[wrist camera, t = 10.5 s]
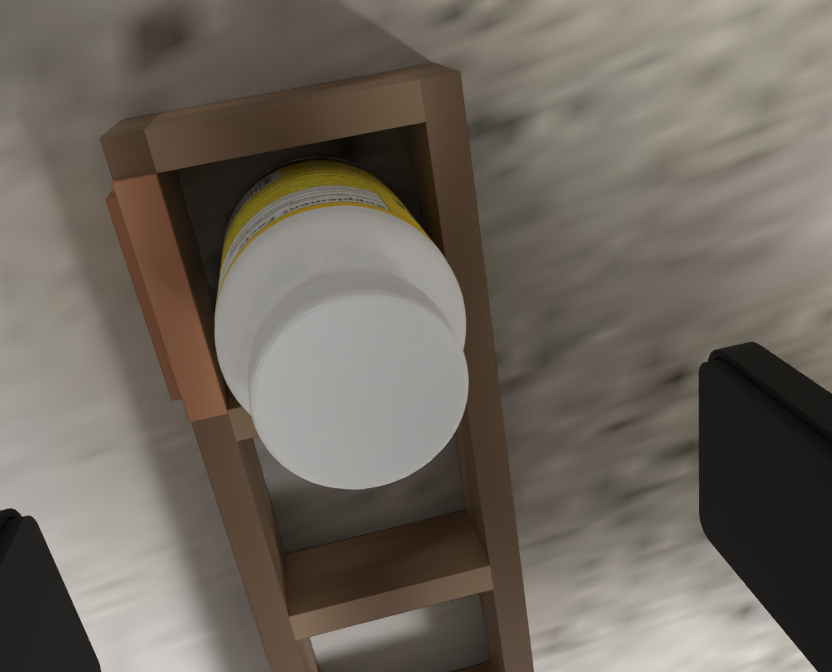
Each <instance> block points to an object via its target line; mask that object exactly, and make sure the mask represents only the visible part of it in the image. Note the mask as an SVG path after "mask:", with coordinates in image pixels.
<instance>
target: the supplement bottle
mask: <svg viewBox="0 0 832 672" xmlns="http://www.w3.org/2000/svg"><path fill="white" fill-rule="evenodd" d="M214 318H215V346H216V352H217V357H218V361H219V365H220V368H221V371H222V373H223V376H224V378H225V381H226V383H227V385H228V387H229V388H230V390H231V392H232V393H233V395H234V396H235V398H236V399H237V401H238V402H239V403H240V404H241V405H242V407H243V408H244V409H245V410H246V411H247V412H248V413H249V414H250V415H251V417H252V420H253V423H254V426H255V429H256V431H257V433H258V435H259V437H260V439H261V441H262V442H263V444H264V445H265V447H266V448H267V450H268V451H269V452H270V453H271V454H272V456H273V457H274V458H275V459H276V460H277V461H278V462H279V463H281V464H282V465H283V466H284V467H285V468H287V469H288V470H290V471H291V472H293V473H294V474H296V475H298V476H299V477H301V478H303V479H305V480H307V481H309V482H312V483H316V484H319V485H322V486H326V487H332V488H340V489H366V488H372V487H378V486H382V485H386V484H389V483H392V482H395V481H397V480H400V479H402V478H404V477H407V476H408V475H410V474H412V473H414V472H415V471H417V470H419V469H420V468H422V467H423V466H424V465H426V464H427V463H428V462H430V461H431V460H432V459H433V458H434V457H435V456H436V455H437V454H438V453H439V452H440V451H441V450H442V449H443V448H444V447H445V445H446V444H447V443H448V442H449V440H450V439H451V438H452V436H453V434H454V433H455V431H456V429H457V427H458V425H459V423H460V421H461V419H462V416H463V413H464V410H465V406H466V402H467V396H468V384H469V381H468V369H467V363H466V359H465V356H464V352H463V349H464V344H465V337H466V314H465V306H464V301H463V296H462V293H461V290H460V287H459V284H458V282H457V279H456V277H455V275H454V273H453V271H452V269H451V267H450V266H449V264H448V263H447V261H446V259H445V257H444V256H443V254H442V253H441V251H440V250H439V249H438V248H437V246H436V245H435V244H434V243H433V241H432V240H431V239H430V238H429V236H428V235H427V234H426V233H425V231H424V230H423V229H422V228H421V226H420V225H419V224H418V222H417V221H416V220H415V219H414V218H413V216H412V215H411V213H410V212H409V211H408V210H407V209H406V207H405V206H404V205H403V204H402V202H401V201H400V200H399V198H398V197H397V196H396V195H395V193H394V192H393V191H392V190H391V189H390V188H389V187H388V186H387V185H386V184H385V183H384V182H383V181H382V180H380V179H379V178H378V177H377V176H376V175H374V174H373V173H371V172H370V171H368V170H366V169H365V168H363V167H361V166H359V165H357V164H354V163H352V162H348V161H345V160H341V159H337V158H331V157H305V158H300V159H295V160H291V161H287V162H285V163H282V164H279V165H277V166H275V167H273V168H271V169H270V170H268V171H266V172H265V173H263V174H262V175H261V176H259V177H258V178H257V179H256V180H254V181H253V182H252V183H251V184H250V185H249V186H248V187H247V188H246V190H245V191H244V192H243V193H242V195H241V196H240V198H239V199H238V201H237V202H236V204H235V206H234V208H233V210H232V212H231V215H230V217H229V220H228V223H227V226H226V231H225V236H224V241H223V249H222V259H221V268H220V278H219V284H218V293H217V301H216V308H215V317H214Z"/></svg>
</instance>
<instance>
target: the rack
mask: <svg viewBox="0 0 832 672" xmlns="http://www.w3.org/2000/svg"><path fill="white" fill-rule="evenodd" d="M407 125H408V131H409V137H410V144H411V150H412V157H413V163H414V170H415V176H416V183H417V189H418V196H419V202H420V208H421V215H422V221H423V228H424V231H425V233H426V234H427V235H428V236H429V238H430V239H431V240H432V241H433V243H434V244H435V245H436V246H437V248H438V249H439V250H440V251H441V253H442V254H443V256H444V257H445V259H446V261H447V263H448V264H449V266H450V267H451V269H452V271H453V273H454V275H455V277H456V279H457V282H458V284H459V287H460V290H461V293H462V296H463V301H464V306H465V314H466V337H465V344H464V349H463V352H464V356H465V359H466V363H467V369H468V381H469V384H468V396H467V402H466V406H465V410H464V413H463V416H462V419H461V421H460V423H459V425H458V427H457V429H456V431H455V435H456V441H457V448H458V454H459V461H460V467H461V474H462V480H463V487H464V493H465V500H466V506H467V510H464V511H460V512H456V513H452V514H448V515H444V516H440V517H436V518H432V519H428V520H424V521H420V522H416V523H411V524H407V525H403V526H399V527H395V528H391V529H387V530H383V531H379V532H375V533H371V534H367V535H363V536H359V537H355V538H351V539H347V540H343V541H338V542H334V543H330V544H326V545H322V546H318V547H314V548H310V549H306V550H302V551H298V552H294V553H290V554H286V553H285V550H284V546H283V543H282V539H281V536H280V532H279V529H278V525H277V522H276V518H275V515H274V511H273V508H272V504H271V501H270V497H269V494H268V491H267V487H266V484H265V480H264V477H263V473H262V470H261V466H260V463H259V459H258V456H257V452H256V449H255V445H254V442H253V438H254V437H258V436H259V435H258V433H257V431H256V429H255V426H254V423H253V420H252V417H251V415H250V414H249V413H248V412H247V411H246V410H245V409H244V408H243V407H242V405H241V404H240V403H239V402H238V401H237V399H236V398H235V396H234V395H233V393H232V392H231V390H230V388H229V387H228V385H227V383H226V381H225V378H224V376H223V373H222V371H221V368H220V365H219V361H218V357H217V352H216V346H215V318H214V317H215V305H214V302H213V298H212V295H211V291H210V288H209V284H208V281H207V277H206V274H205V270H204V267H203V263H202V260H201V256H200V253H199V249H198V246H197V242H196V239H195V235H194V232H193V228H192V225H191V222H190V218H189V215H188V211H187V208H186V204H185V201H184V197H183V194H182V190H181V187H180V183H179V180H178V176H177V173H176V169H181V168H186V167H191V166H196V165H202V164H207V163H212V162H217V161H223V160H228V159H233V158H238V157H244V156H249V155H254V154H260V153H265V152H270V151H275V150H281V149H286V148H291V147H296V146H302V145H307V144H312V143H317V142H323V141H328V140H333V139H339V138H344V137H349V136H354V135H360V134H365V133H370V132H375V131H381V130H386V129H391V128H396V127H402V126H407ZM100 140H101V143H102V147H103V150H104V153H105V156H106V159H107V162H108V165H109V168H110V171H111V174H112V178H113V183H112V184H113V187H114V189H113V191H112V192H111V193H110V194H109V196H108V197H107V198H106V202H107V205H108V208H109V211H110V214H111V217H112V220H113V223H114V226H115V229H116V232H117V235H118V239H119V242H120V245H121V248H122V251H123V254H124V257H125V260H126V263H127V266H128V269H129V272H130V275H131V278H132V281H133V284H134V287H135V290H136V293H137V296H138V299H139V302H140V305H141V308H142V311H143V314H144V317H145V320H146V323H147V326H148V329H149V332H150V335H151V338H152V341H153V344H154V348H155V351H156V354H157V357H158V360H159V363H160V366H161V369H162V372H163V375H164V378H165V381H166V384H167V387H168V390H169V393H170V396H171V399H172V400H177V399H181V398H182V400H183V403H184V406H185V410H186V413H187V416H188V419H189V422H191V423H192V426H193V429H194V432H195V435H196V438H197V441H198V444H199V447H200V450H201V454H202V457H203V460H204V463H205V466H206V469H207V472H208V475H209V478H210V481H211V485H212V488H213V491H214V494H215V497H216V500H217V503H218V506H219V509H220V512H221V516H222V519H223V522H224V525H225V528H226V531H227V534H228V537H229V540H230V543H231V547H232V550H233V553H234V556H235V559H236V562H237V565H238V568H239V571H240V574H241V578H242V581H243V584H244V587H245V590H246V593H247V596H248V599H249V602H250V605H251V609H252V612H253V615H254V618H255V621H256V624H257V627H258V630H259V633H260V636H261V640H262V643H263V646H264V649H265V652H266V655H267V658H268V661H269V664H270V667H271V671H272V672H319V669H318V665H317V662H316V658H315V655H314V651H313V648H312V644H311V641H310V637H311V636H315V635H319V634H323V633H327V632H330V631H334V630H338V629H342V628H346V627H350V626H354V625H357V624H361V623H365V622H369V621H373V620H377V619H381V618H384V617H388V616H392V615H396V614H400V613H404V612H408V611H412V610H415V609H419V608H423V607H427V606H431V605H435V604H439V603H442V602H446V601H450V600H454V599H458V598H462V597H466V596H469V595H473V594H477V593H480V597H481V603H482V610H483V616H484V623H485V629H486V636H487V642H488V649H489V655H490V661H491V662H488V663H484V664H480V665H477V666H473V667H469V668H465V669H462V670H458V671H454V672H534V669H533V660H532V652H531V644H530V636H529V628H528V620H527V611H526V603H525V595H524V587H523V579H522V571H521V563H520V554H519V546H518V538H517V530H516V522H515V514H514V505H513V497H512V489H511V481H510V473H509V465H508V456H507V448H506V440H505V432H504V424H503V416H502V408H501V399H500V391H499V383H498V375H497V367H496V359H495V350H494V342H493V334H492V326H491V318H490V310H489V302H488V293H487V285H486V277H485V269H484V261H483V253H482V244H481V236H480V228H479V220H478V212H477V204H476V196H475V187H474V179H473V171H472V163H471V155H470V147H469V138H468V130H467V122H466V114H465V106H464V98H463V90H462V81H461V73H460V72H459V71H456V70H453V69H450V68H447V67H444V66H441V65H438V64H435V63H433V64H428V65H422V66H417V67H411V68H406V69H400V70H395V71H389V72H384V73H378V74H373V75H367V76H362V77H356V78H351V79H345V80H340V81H334V82H329V83H323V84H318V85H312V86H307V87H301V88H296V89H290V90H285V91H279V92H274V93H268V94H263V95H257V96H252V97H246V98H241V99H235V100H230V101H224V102H219V103H213V104H208V105H202V106H197V107H191V108H186V109H180V110H175V111H169V112H164V113H158V114H153V115H147V116H142V117H136V118H131V119H125V120H121V121H120V122H118V123H117V124H116V125H115V126H114V127H112V128H111V129H110V130H109V131H108V132H107V133H105V134H104V135H103V136H102V137H101V138H100Z"/></svg>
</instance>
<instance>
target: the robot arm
mask: <svg viewBox="0 0 832 672" xmlns="http://www.w3.org/2000/svg"><path fill="white" fill-rule="evenodd" d="M699 515H700V521H701V525H702V528H703V531H704V533H705V535H706V537H707V538H708V539H709V541H710V542H711V543H712V545H713V546H714V547H715V548H716V549H717V551H718V552H719V553H720V554H721V555H722V557H723V558H724V559H725V560H726V561H727V563H728V564H729V565H730V566H731V567H732V569H733V570H734V571H735V572H736V574H737V575H738V576H739V577H740V578H741V580H742V581H743V582H744V583H745V584H746V586H747V587H748V588H749V589H750V590H751V592H752V593H753V594H754V595H755V596H756V598H757V599H758V600H759V601H760V602H761V604H762V605H763V606H764V607H765V609H766V610H767V611H768V612H769V613H770V615H771V616H772V617H773V618H774V619H775V621H776V622H777V623H778V624H779V625H780V627H781V628H782V629H783V630H784V631H785V633H786V634H787V635H788V636H789V637H790V639H791V640H792V641H793V642H794V644H795V645H796V646H797V647H798V648H799V650H800V651H801V652H802V653H803V654H804V656H805V657H806V658H807V659H808V660H809V662H810V663H811V664H812V665H813V666H814V668H815V669H816V670H817V671H818V672H832V394H831V393H830V392H828V391H827V390H825V389H824V388H822V387H821V386H819V385H818V384H816V383H815V382H814V381H812V380H811V379H809V378H808V377H806V376H805V375H803V374H802V373H800V372H799V371H797V370H796V369H794V368H793V367H791V366H790V365H789V364H787V363H786V362H784V361H783V360H781V359H780V358H778V357H777V356H775V355H774V354H772V353H771V352H769V351H768V350H767V349H765V348H764V347H762V346H761V345H759V344H757V343H755V342H748V343H743V344H739V345H734V346H730V347H726V348H721V349H717V350H714V351H713V352H711V354H710V356H709V359H708V362H704V363H703V364H701V366H700V369H699ZM0 672H101V668H100V664H99V661H98V659H97V656H96V654H95V652H94V650H93V647H92V645H91V643H90V641H89V638H88V636H87V634H86V632H85V629H84V627H83V625H82V623H81V620H80V618H79V616H78V614H77V611H76V609H75V607H74V605H73V602H72V600H71V598H70V596H69V593H68V591H67V589H66V587H65V584H64V582H63V580H62V577H61V575H60V573H59V571H58V568H57V566H56V564H55V562H54V559H53V557H52V555H51V553H50V550H49V548H48V546H47V544H46V541H45V539H44V537H43V535H42V532H41V530H40V528H39V526H38V524H37V522H36V520H35V519H34V518H33V517H32V516H29V515H28V516H24V517H22V516H21V515H20V514H19V513H18V512H17V511H16V510H15V509H12V508H10V509H5V510H1V511H0Z"/></svg>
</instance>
